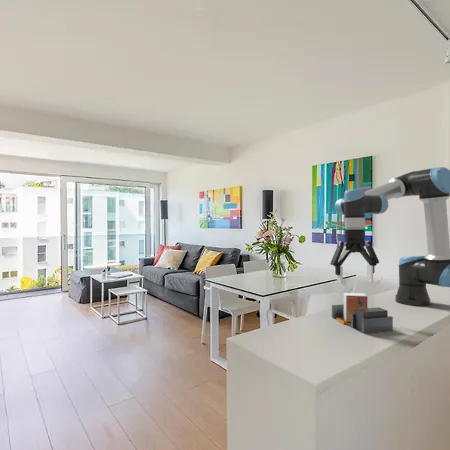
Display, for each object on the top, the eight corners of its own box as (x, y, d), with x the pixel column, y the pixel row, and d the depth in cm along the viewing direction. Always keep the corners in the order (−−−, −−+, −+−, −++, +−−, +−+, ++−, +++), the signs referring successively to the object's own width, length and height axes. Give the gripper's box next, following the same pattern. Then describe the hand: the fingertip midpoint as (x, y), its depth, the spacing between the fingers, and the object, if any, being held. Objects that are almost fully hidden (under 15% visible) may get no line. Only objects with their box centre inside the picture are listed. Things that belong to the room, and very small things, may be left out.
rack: (357, 317, 133) (357, 303, 133) (392, 333, 114) (392, 316, 114) (330, 319, 130) (330, 305, 130) (361, 336, 111) (361, 319, 111)
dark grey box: (379, 326, 119) (379, 307, 119) (387, 329, 115) (387, 310, 115) (355, 328, 117) (355, 309, 117) (363, 332, 113) (363, 312, 113)
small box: (345, 322, 123) (345, 295, 123) (343, 318, 129) (343, 292, 129) (367, 323, 122) (367, 296, 122) (364, 319, 127) (364, 292, 127)
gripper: (375, 228, 132) (375, 279, 132) (321, 229, 126) (321, 282, 126) (388, 228, 124) (389, 282, 124) (331, 229, 119) (332, 286, 119)
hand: (355, 282), depth 125 cm, fingers open, 13 cm apart
